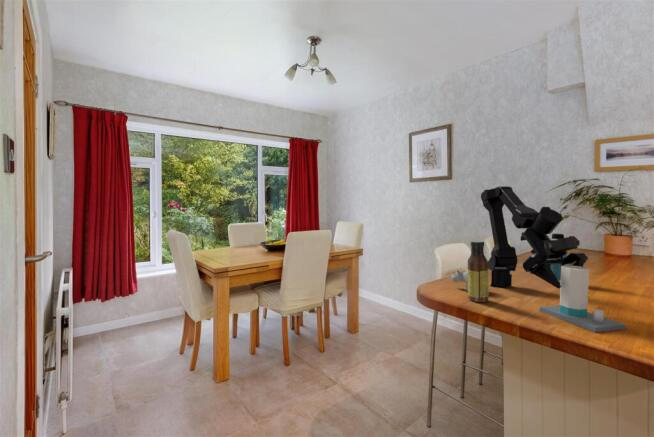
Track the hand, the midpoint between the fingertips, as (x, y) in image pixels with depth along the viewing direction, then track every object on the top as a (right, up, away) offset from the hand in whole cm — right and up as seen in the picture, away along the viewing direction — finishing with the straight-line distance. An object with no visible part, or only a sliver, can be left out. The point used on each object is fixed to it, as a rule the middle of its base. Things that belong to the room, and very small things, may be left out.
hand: (573, 286), depth 90 cm
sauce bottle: (-20, -8, +15) cm, 26 cm away
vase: (0, -7, 0) cm, 7 cm away
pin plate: (0, -9, -2) cm, 9 cm away
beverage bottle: (+23, -7, +38) cm, 45 cm away
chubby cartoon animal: (-18, -7, +28) cm, 34 cm away
